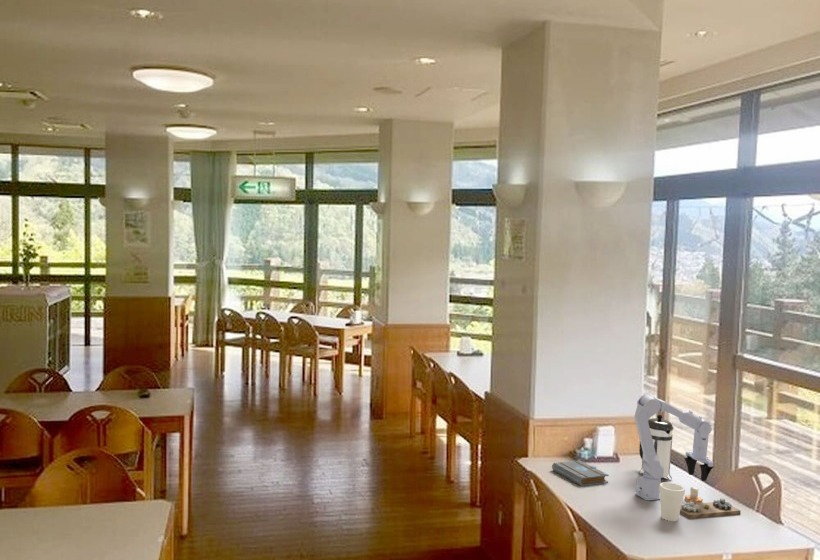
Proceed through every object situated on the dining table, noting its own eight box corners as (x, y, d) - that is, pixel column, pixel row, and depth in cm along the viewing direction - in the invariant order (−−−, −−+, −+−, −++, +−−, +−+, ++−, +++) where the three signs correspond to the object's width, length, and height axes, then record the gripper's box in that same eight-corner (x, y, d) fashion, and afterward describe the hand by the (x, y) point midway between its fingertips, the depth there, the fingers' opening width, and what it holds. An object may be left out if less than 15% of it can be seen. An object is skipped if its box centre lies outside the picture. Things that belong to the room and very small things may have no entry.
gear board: (689, 518, 278) (689, 512, 278) (672, 509, 287) (672, 502, 287) (740, 514, 286) (740, 507, 286) (722, 504, 296) (722, 498, 295)
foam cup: (670, 524, 271) (672, 492, 270) (652, 515, 279) (654, 483, 278) (687, 521, 275) (689, 489, 274) (668, 512, 283) (671, 481, 283)
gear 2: (721, 510, 285) (722, 503, 285) (709, 503, 291) (709, 497, 291) (734, 509, 287) (735, 502, 287) (722, 502, 294) (723, 495, 293)
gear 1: (689, 513, 280) (690, 505, 279) (678, 506, 286) (678, 499, 286) (703, 511, 282) (704, 504, 282) (691, 505, 288) (692, 498, 288)
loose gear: (692, 504, 294) (693, 492, 293) (681, 498, 300) (682, 486, 300) (705, 503, 296) (706, 491, 296) (694, 497, 302) (695, 485, 302)
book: (551, 471, 327) (552, 461, 327) (579, 468, 334) (580, 458, 334) (579, 487, 308) (580, 476, 308) (608, 483, 315) (609, 473, 315)
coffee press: (675, 475, 330) (680, 414, 329) (667, 484, 317) (673, 420, 315) (638, 467, 340) (643, 407, 338) (629, 476, 326) (634, 413, 324)
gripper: (720, 451, 294) (717, 482, 295) (695, 441, 308) (692, 471, 309) (706, 452, 292) (703, 483, 293) (682, 442, 305) (680, 472, 306)
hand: (697, 477), depth 300 cm, fingers open, 7 cm apart
